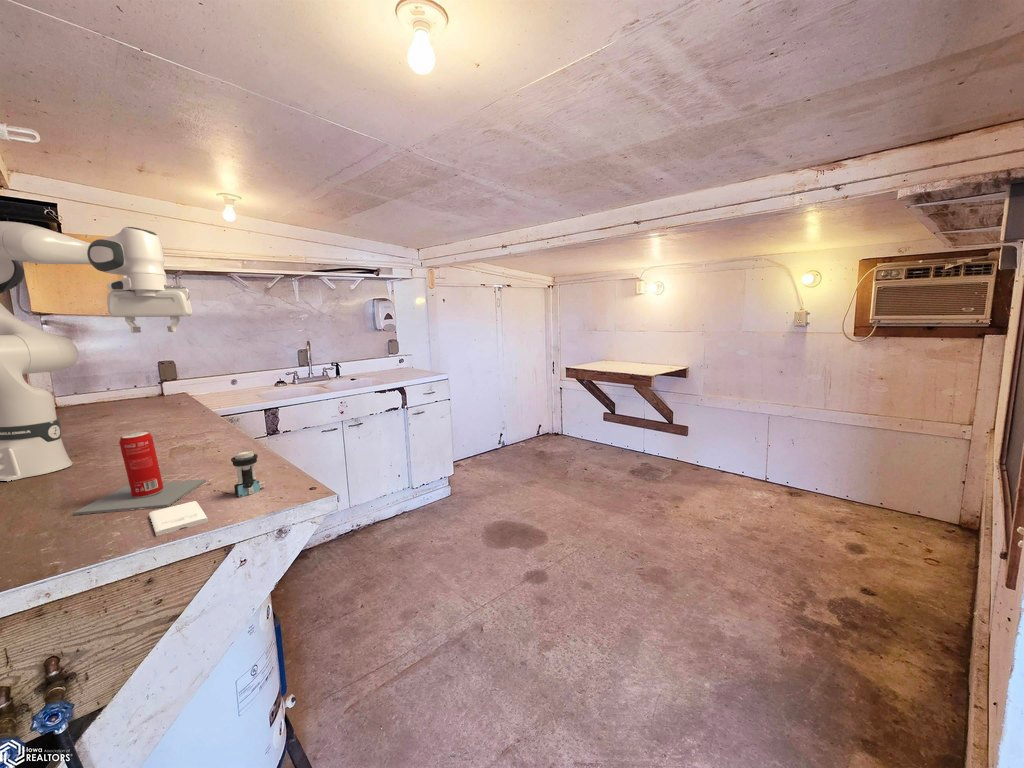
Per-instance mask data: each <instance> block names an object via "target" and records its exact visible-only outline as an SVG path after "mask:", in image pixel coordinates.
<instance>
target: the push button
mask: <svg viewBox="0 0 1024 768" xmlns="http://www.w3.org/2000/svg"><path fill="white" fill-rule="evenodd" d="M230 461H231V462H232V466H233V467H236V474H237V482H236V484H234V488H233V489H234V494H235V495H234V496H237V497H239V498H243V497H245V496H248V495H252V494H254V493H258V492H259V491H261V489H262V488H264V487H266V485H265V483H266V482H265V481H262V482H260V481H259V480H257V477H256V470H255V464H256V463H257V462H258V454H256V453H254V452H253V451H252V450H244V451H239V452H236V453H235V454H234V456H233V457H232V458H231V459H230ZM263 484H264V485H263Z"/></svg>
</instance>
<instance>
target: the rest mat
mask: <svg viewBox="0 0 1024 768" xmlns="http://www.w3.org/2000/svg"><path fill="white" fill-rule="evenodd" d="M206 482H207V479H194V480H193V479H192V480H181V481H167V482H165V481H164V482H162V483H163V490H162V491H161V492H159V493H157V494H155V495H152V496H148V497H143V498H135V497H133V496H132V494H131V489H130V485H127V484H126V485H124V486H122V487H120V488H119V489H116V490H115V491H113V492H111V493H109V494H107V495H105V496H102V497H100V498H99V499H97V500H94V501H93V502H91V503H89V504H87V505H85V506H83V507H82V508H79V509H78V510H77V509H76V510H75V511H73V512H72V516H80V515H79V514H83V515H90V514H89V513H95V514H103V513H102V512H106V513H112V512H111V511H118V512H123V511H122V510H129V511H132V510H131V509H139V508H152V509H156V508H155V507H163V508H168V506H169V507H171V506H172V505H174V504H175V503H176V502H178V501H179V500H181V499H183V498H184V497H185V496H187V495H188V494H189V492H190V493H191V492H193V491H194V490H196V489H197V488H199V487H200V486H202V485H203V484H205V483H206ZM201 484H202V485H201ZM198 486H199V487H198ZM192 490H193V491H192ZM186 494H187V495H186ZM184 495H185V496H184ZM183 496H184V497H183ZM180 498H181V499H180ZM178 499H179V500H178ZM177 500H178V501H177ZM175 501H176V502H175ZM174 502H175V503H174ZM171 504H172V505H171Z"/></svg>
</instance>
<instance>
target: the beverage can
mask: <svg viewBox="0 0 1024 768" xmlns="http://www.w3.org/2000/svg"><path fill="white" fill-rule="evenodd" d="M119 446H120V447H119V448H120V450H121V451H120V452H121V454H122V460H123V463H124V468H125V473H126V476H127V480H128V484H129V485H130V489H131V494H132V496H133V497H135V498H143V497H148V496H152V495H155V494H157V493H159V492H161V491H162V490H163V483H164V482H163V478H162V474H161V470H160V467H159V466H160V465H159V461H158V456H157V453H156V447H155V443H154V439H153V435H152V434H151V433H150V431H148V430H141V431H140V430H139V431H135V432H133V431H132V432H129V433H126V434H122V435H120V439H119Z"/></svg>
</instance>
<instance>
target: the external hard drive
mask: <svg viewBox="0 0 1024 768" xmlns="http://www.w3.org/2000/svg"><path fill="white" fill-rule="evenodd" d="M148 516H149V520H150V519H151V520H150V522H152V523H151V525H153V526H152V529H153V530H154V535H155V537H159V536H163V535H166V534H170V533H173V531H174V532H176V530H177V531H179V530H182V529H186V528H185V527H187V528H191V527H195V526H197V525H201V524H204V523H208V522H209V520H208V517H207V515H206V514H205V512H204V510H203V509H202V508H201V506H200V505H199V503H198V501H196V500H195V501H189V502H185V503H181V504H177V505H174V506H172V505H171V506H169V507H163V508H160V509H155V510H152V511H150V512H149V513H148ZM169 532H170V533H169ZM165 533H166V534H165ZM162 534H163V535H162ZM158 535H159V536H158Z"/></svg>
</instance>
